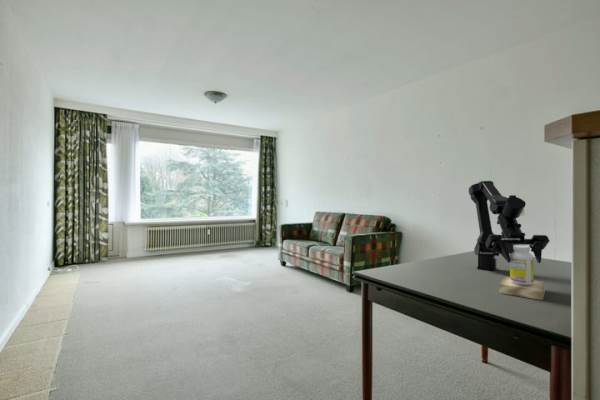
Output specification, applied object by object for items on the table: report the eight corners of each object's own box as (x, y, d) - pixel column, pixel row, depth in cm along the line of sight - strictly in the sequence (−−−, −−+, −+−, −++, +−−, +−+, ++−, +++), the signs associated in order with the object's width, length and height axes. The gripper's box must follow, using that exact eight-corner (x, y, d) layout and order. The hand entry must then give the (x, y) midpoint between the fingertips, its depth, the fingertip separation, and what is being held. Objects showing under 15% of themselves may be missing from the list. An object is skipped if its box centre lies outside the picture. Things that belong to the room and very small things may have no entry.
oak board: (499, 292, 109) (499, 284, 109) (504, 284, 118) (504, 276, 118) (543, 300, 101) (543, 290, 101) (545, 290, 111) (545, 282, 110)
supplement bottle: (524, 280, 113) (525, 244, 113) (538, 285, 107) (538, 247, 106) (505, 280, 113) (505, 244, 113) (517, 285, 107) (518, 248, 106)
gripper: (529, 239, 123) (545, 275, 112) (477, 238, 126) (488, 273, 116) (541, 221, 115) (559, 258, 104) (484, 221, 118) (497, 256, 108)
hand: (524, 262), depth 108 cm, fingers open, 9 cm apart
